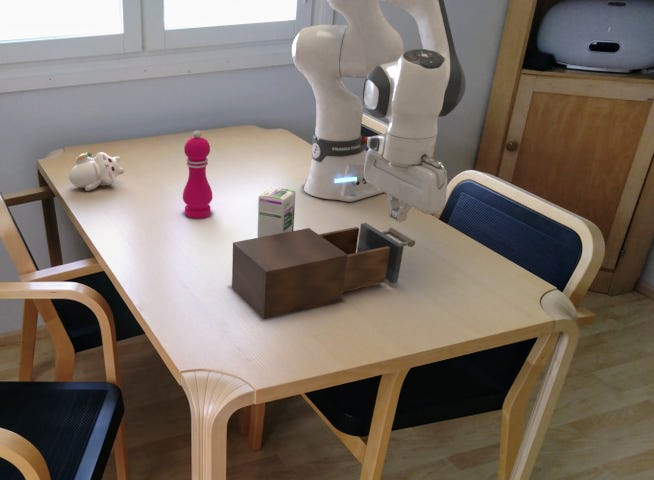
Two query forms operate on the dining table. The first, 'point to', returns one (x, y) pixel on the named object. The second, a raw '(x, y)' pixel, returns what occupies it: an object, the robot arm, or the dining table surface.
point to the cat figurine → (94, 171)
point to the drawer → (369, 254)
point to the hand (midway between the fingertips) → (397, 219)
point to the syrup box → (276, 212)
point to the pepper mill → (197, 178)
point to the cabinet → (288, 272)
